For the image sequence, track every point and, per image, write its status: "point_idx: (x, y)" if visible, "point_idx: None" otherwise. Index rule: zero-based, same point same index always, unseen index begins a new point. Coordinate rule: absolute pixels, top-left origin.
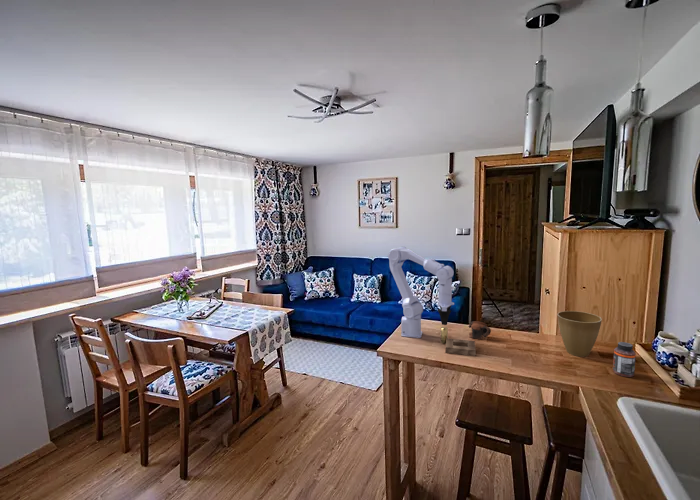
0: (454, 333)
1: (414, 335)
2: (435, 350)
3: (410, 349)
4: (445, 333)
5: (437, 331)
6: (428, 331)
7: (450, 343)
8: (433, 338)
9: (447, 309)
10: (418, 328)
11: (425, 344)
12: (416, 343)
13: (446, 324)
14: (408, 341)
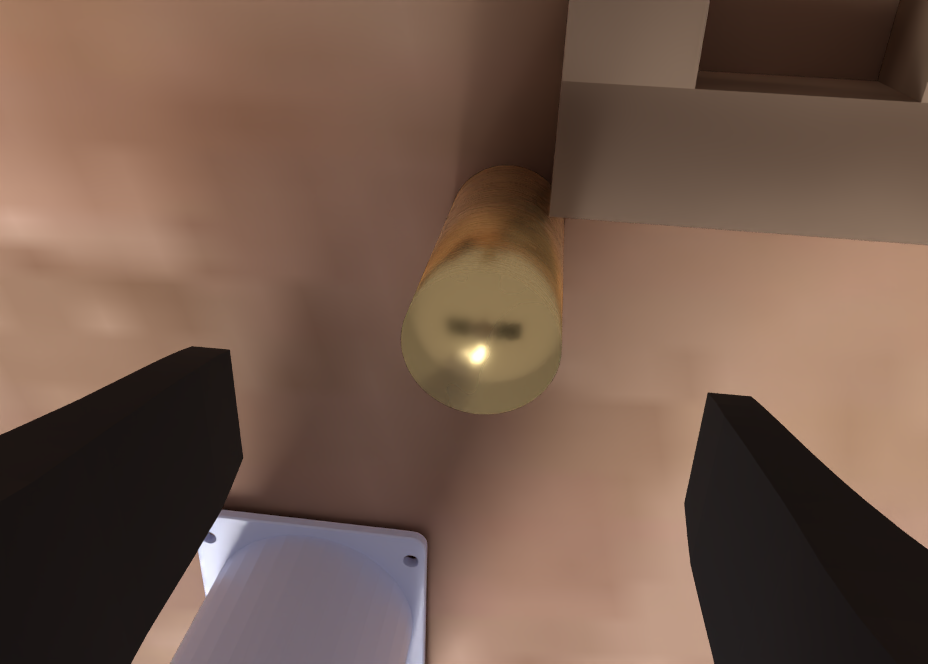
0: (21, 22)
1: (407, 613)
2: (855, 359)
3: None
4: (558, 278)
5: (64, 309)
6: None
7: (813, 151)
8: (377, 372)
9: (14, 589)
10: (349, 652)
11: (634, 478)
12: (614, 575)
13: (761, 413)
14: (563, 650)
